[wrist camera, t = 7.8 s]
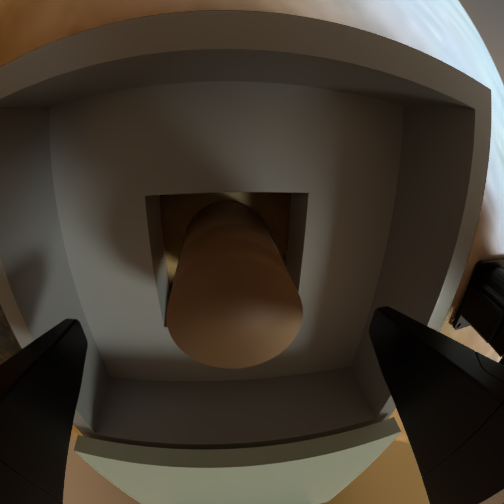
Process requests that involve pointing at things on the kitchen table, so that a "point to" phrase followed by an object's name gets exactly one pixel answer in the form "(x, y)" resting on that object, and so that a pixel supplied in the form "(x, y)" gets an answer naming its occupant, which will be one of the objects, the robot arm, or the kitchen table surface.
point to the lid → (240, 468)
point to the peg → (232, 291)
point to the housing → (234, 180)
